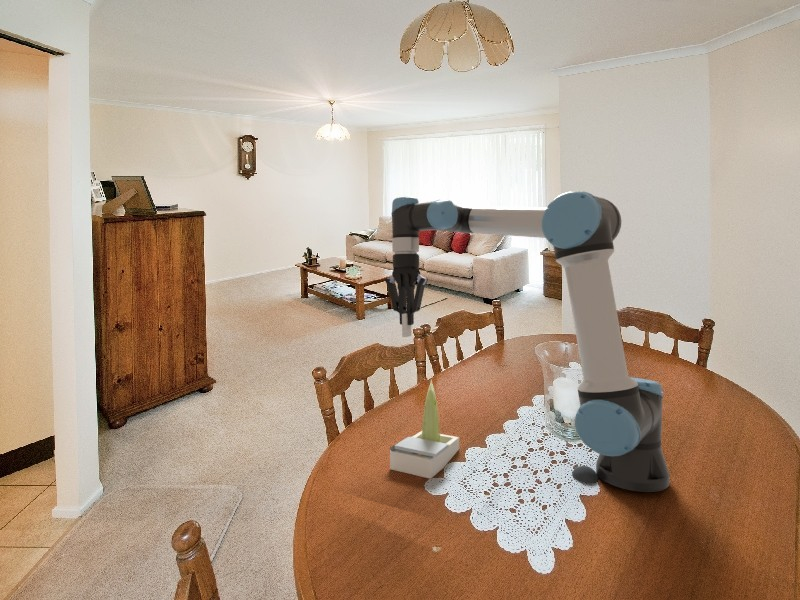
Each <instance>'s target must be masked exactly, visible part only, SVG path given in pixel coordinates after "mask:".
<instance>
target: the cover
mask: <svg viewBox="0 0 800 600" xmlns="http://www.w3.org/2000/svg"><path fill="white" fill-rule="evenodd" d="M448 447H449V445H448V444H446V443H440V442H435V441H430V440H425V439H419V438H414V437H413V436H406V437H405V438H403V439H402V440H400V441H399V442H397V443H395V444H393V445H391V447H390V451H394V450H395V449H399V450H403V451H408V452H413V453H412V454H417V455H421V454H422V455H427V456H432V457H437V456H438V455H439V454H441V453H442V452H443V451H444V450H446V449H447V448H448ZM422 455H421V456H422Z"/></svg>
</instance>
